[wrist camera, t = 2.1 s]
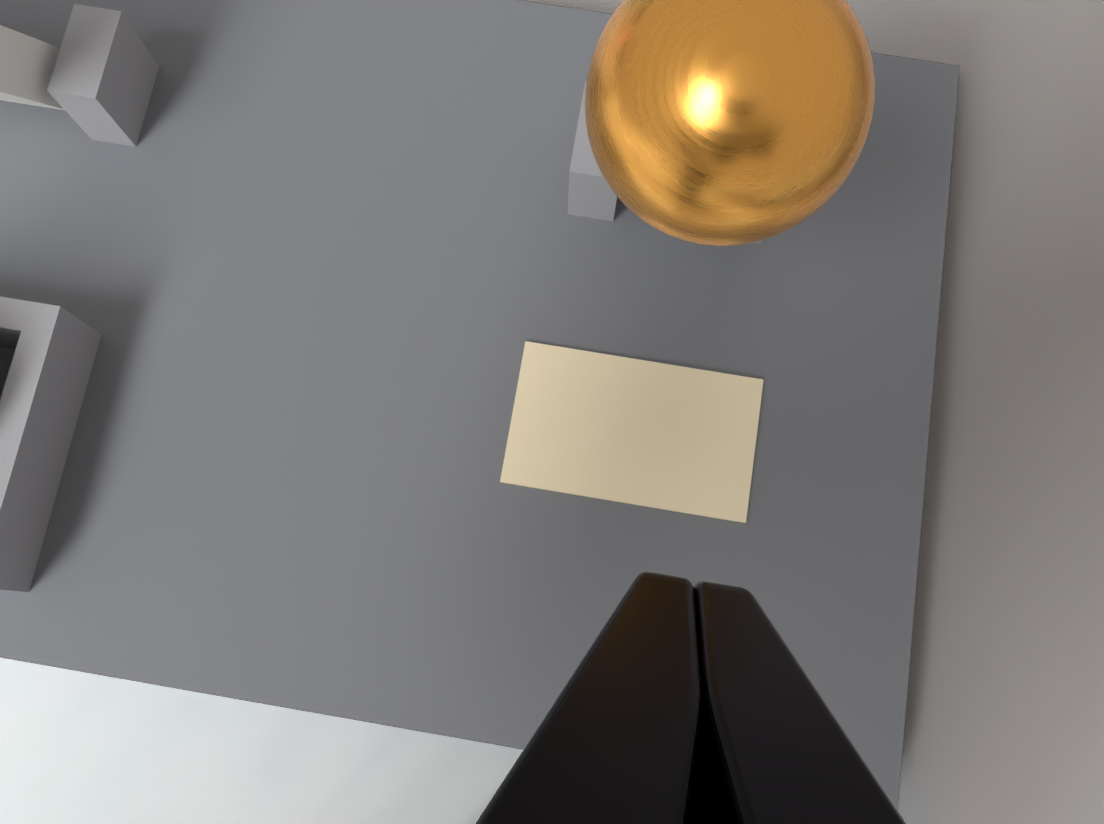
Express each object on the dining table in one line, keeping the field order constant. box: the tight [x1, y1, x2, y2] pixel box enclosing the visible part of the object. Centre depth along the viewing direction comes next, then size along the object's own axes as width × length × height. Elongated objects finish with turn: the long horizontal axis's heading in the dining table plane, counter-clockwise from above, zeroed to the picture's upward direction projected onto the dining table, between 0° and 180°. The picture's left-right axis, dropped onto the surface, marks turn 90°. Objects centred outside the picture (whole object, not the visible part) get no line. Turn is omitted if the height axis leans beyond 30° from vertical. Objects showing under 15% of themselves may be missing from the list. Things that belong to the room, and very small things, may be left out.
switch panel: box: [0, 0, 960, 810], centre depth 21 cm, size 16×26×4 cm, turn 80°
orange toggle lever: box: [585, 0, 875, 246], centre depth 15 cm, size 3×3×11 cm
